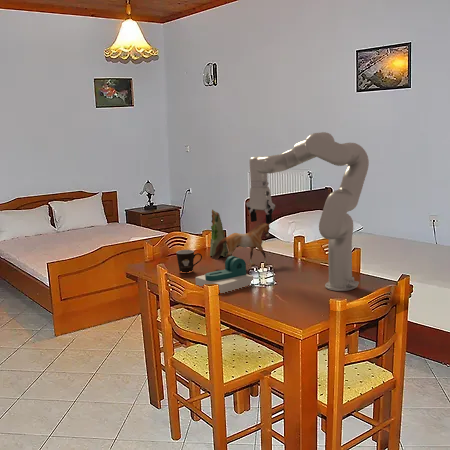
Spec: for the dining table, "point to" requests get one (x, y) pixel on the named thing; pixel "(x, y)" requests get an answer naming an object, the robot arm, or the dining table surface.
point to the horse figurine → (244, 241)
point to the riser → (227, 282)
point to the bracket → (228, 270)
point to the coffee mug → (186, 260)
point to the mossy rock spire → (217, 234)
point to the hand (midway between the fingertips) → (261, 222)
